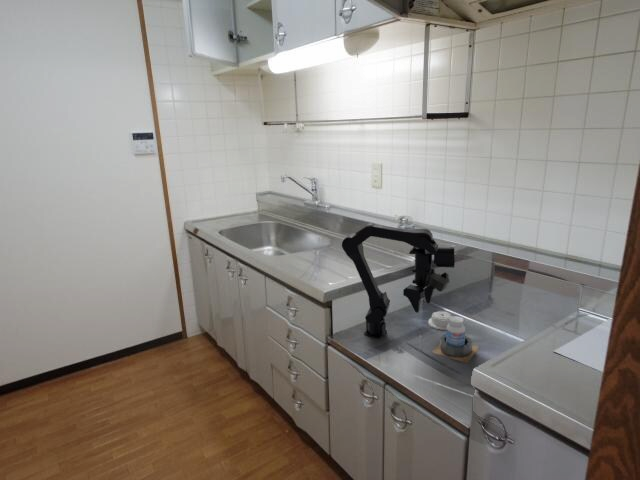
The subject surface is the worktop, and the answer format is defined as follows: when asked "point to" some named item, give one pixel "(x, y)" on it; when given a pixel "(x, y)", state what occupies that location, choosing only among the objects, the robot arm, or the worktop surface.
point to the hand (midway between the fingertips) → (422, 307)
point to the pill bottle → (455, 331)
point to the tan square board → (464, 359)
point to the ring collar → (456, 348)
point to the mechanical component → (439, 320)
